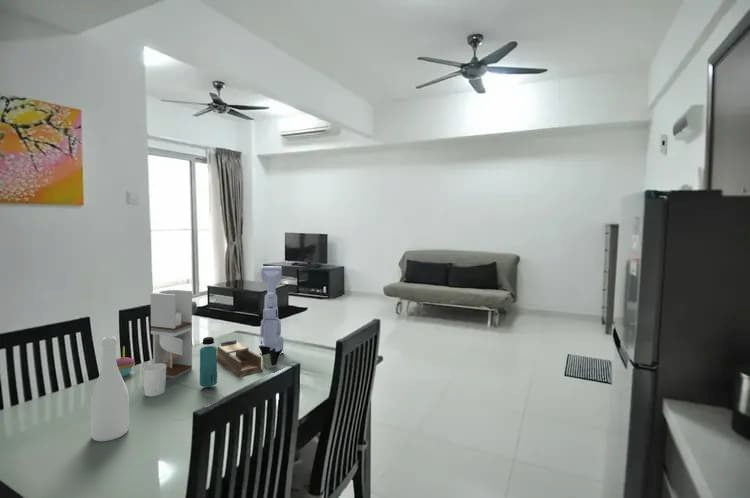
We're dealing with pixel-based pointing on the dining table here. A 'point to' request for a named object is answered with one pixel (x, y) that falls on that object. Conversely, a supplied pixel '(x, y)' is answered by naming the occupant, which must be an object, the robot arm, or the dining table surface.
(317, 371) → the dining table surface
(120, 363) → the cupcake
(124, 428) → the wine bottle
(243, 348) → the lid
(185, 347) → the white tiered shelf
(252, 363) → the brown wooden box
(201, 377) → the beverage bottle
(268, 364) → the block
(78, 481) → the dining table surface
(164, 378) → the white cup
